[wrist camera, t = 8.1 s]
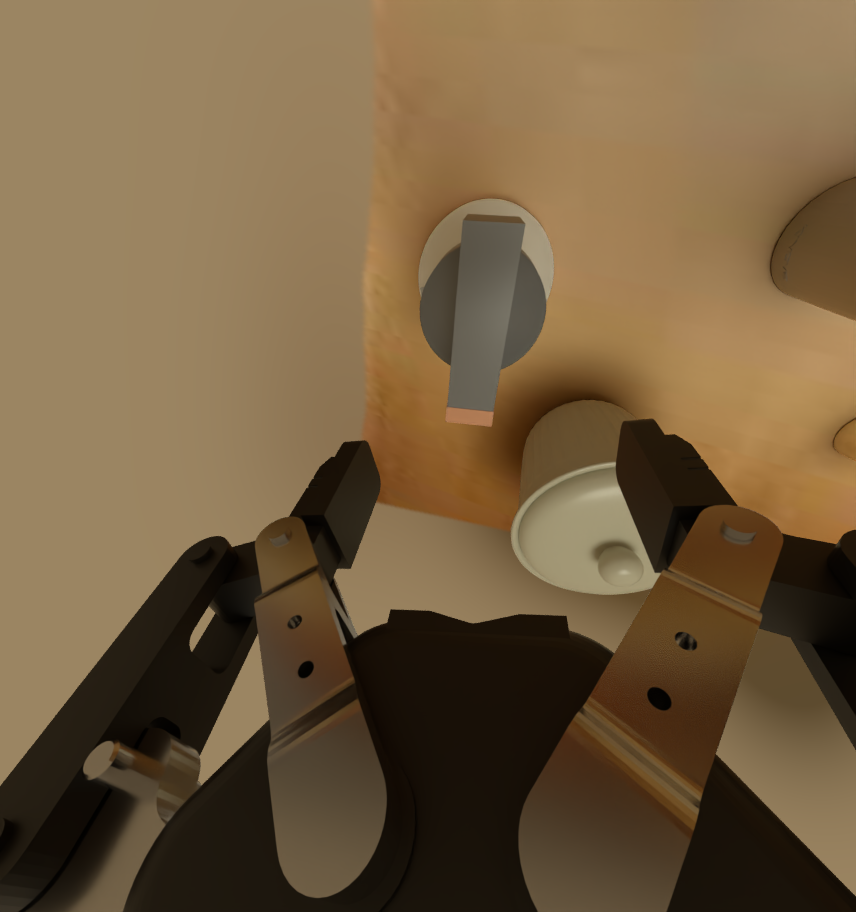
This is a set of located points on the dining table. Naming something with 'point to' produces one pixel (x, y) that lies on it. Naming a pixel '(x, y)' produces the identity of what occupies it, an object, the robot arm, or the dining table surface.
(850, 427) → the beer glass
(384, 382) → the dining table surface
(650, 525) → the robot arm
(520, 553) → the canister
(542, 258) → the post base
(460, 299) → the twist cap
